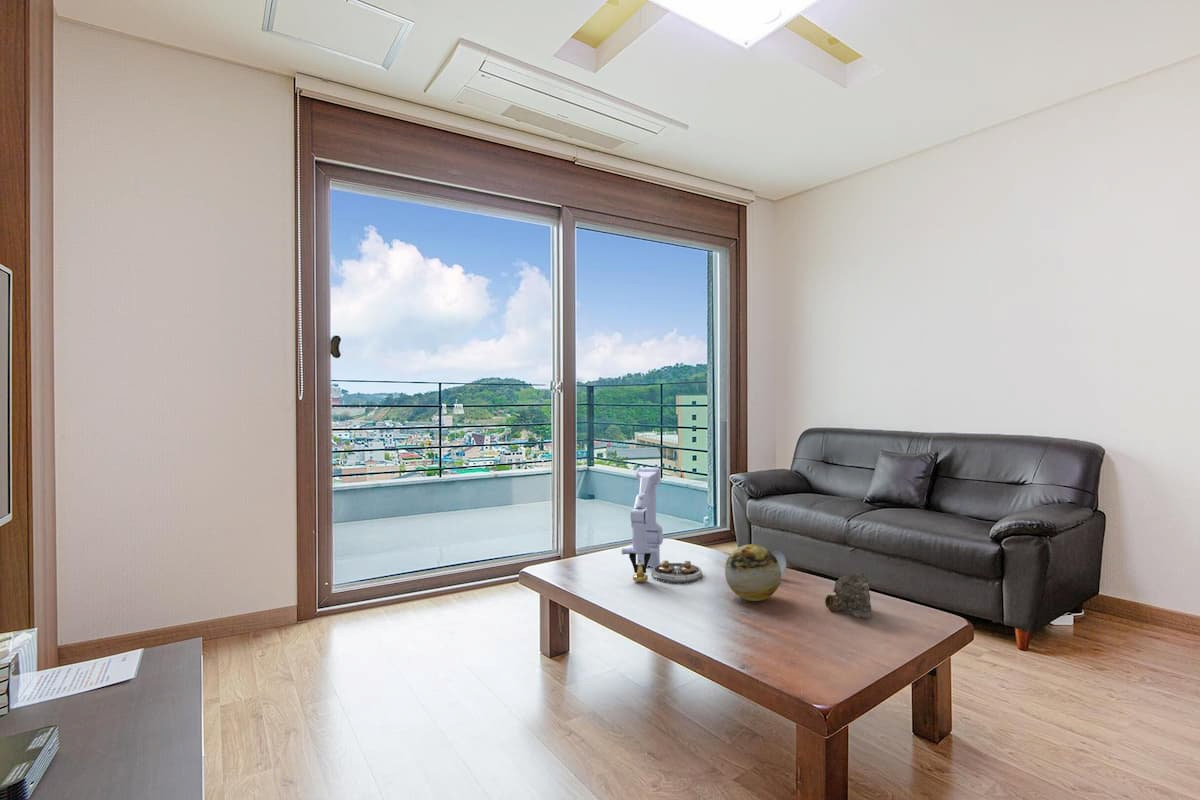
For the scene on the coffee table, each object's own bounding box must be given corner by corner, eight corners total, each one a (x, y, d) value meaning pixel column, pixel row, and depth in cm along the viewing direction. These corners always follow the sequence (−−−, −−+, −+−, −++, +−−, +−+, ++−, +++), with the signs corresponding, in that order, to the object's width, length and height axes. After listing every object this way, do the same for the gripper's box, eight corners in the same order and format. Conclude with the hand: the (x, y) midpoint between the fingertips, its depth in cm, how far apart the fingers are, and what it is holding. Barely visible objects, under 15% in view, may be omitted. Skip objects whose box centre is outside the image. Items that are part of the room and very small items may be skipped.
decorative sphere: (718, 604, 218) (717, 548, 218) (733, 588, 235) (732, 536, 235) (775, 612, 209) (774, 554, 208) (786, 595, 226) (785, 541, 226)
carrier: (643, 579, 249) (643, 566, 249) (663, 566, 267) (663, 554, 267) (691, 586, 239) (691, 573, 239) (708, 572, 257) (708, 560, 257)
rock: (881, 568, 200) (832, 556, 206) (875, 609, 192) (825, 595, 198) (874, 592, 213) (828, 580, 219) (868, 631, 205) (821, 618, 211)
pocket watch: (788, 554, 243) (762, 559, 235) (789, 581, 243) (762, 588, 235) (769, 548, 252) (743, 554, 244) (770, 575, 252) (743, 581, 244)
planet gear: (630, 580, 244) (630, 565, 244) (636, 576, 250) (636, 561, 249) (643, 582, 241) (643, 567, 241) (650, 578, 247) (650, 563, 246)
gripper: (620, 540, 242) (621, 574, 242) (657, 541, 240) (657, 575, 240) (622, 536, 249) (623, 569, 249) (658, 537, 247) (658, 570, 247)
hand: (640, 572), depth 245 cm, fingers closed on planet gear, 3 cm apart
